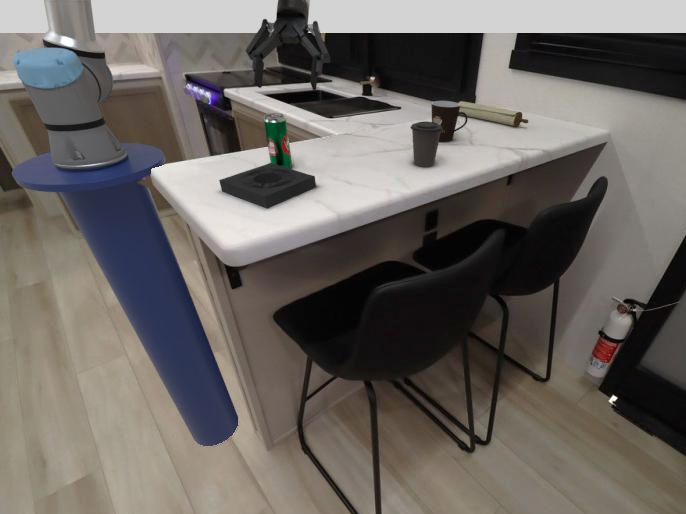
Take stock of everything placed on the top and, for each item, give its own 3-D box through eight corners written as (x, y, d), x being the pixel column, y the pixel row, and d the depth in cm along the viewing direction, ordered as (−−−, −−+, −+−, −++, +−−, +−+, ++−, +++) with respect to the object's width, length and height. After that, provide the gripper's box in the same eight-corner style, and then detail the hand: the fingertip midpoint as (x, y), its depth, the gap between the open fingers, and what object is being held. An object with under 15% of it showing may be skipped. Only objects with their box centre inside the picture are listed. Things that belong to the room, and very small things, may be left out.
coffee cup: (445, 164, 99) (450, 124, 93) (424, 171, 95) (428, 129, 88) (423, 157, 104) (425, 117, 97) (402, 163, 99) (403, 122, 93)
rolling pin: (530, 128, 133) (533, 112, 130) (522, 130, 130) (526, 115, 127) (454, 112, 149) (456, 97, 146) (446, 114, 146) (447, 99, 143)
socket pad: (221, 191, 81) (218, 179, 79) (272, 173, 90) (270, 162, 88) (267, 208, 75) (264, 196, 73) (316, 187, 84) (314, 176, 83)
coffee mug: (424, 136, 120) (426, 101, 113) (447, 134, 123) (451, 100, 116) (441, 147, 111) (445, 110, 105) (466, 144, 114) (471, 108, 108)
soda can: (267, 167, 93) (258, 114, 86) (286, 163, 96) (278, 111, 88) (277, 173, 90) (268, 118, 83) (296, 168, 93) (289, 115, 86)
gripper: (345, 21, 97) (339, 97, 95) (250, 17, 98) (241, 93, 95) (340, -6, 90) (333, 76, 87) (237, -10, 90) (227, 71, 88)
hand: (285, 85), depth 91 cm, fingers open, 13 cm apart
